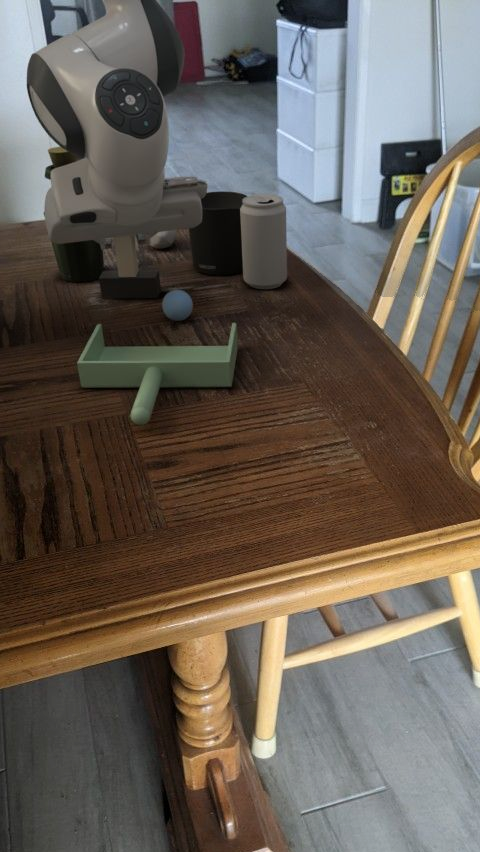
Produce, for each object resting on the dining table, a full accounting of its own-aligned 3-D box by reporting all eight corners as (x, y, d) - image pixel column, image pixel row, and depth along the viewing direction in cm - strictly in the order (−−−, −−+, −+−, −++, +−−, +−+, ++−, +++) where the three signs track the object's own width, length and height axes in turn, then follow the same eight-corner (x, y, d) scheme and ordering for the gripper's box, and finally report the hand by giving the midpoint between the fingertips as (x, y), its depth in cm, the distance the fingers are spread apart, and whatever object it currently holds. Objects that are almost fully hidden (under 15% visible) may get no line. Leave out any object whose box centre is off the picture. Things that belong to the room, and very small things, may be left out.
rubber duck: (147, 254, 126) (142, 203, 121) (141, 242, 131) (135, 192, 126) (181, 250, 127) (176, 199, 122) (172, 238, 132) (168, 189, 127)
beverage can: (258, 294, 111) (255, 208, 104) (235, 280, 115) (231, 197, 108) (295, 284, 113) (295, 200, 106) (272, 271, 118) (270, 189, 111)
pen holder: (182, 262, 122) (176, 197, 116) (236, 252, 125) (233, 188, 120) (205, 281, 115) (200, 213, 109) (262, 270, 118) (260, 202, 113)
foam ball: (161, 325, 102) (158, 296, 100) (166, 313, 106) (163, 285, 103) (192, 325, 102) (189, 296, 100) (195, 313, 106) (193, 285, 103)
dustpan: (101, 349, 97) (97, 324, 95) (237, 348, 96) (236, 322, 94) (59, 436, 80) (52, 407, 78) (223, 436, 79) (221, 407, 78)
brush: (101, 298, 111) (87, 205, 103) (106, 290, 113) (92, 199, 106) (157, 298, 110) (147, 204, 103) (161, 290, 113) (150, 198, 105)
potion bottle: (110, 264, 122) (93, 141, 112) (108, 282, 116) (89, 154, 105) (58, 267, 122) (35, 144, 111) (52, 286, 115) (27, 157, 105)
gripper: (203, 154, 98) (192, 212, 111) (36, 171, 93) (45, 229, 106) (215, 200, 97) (202, 253, 110) (47, 219, 92) (54, 272, 105)
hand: (124, 241), depth 108 cm, fingers open, 4 cm apart
